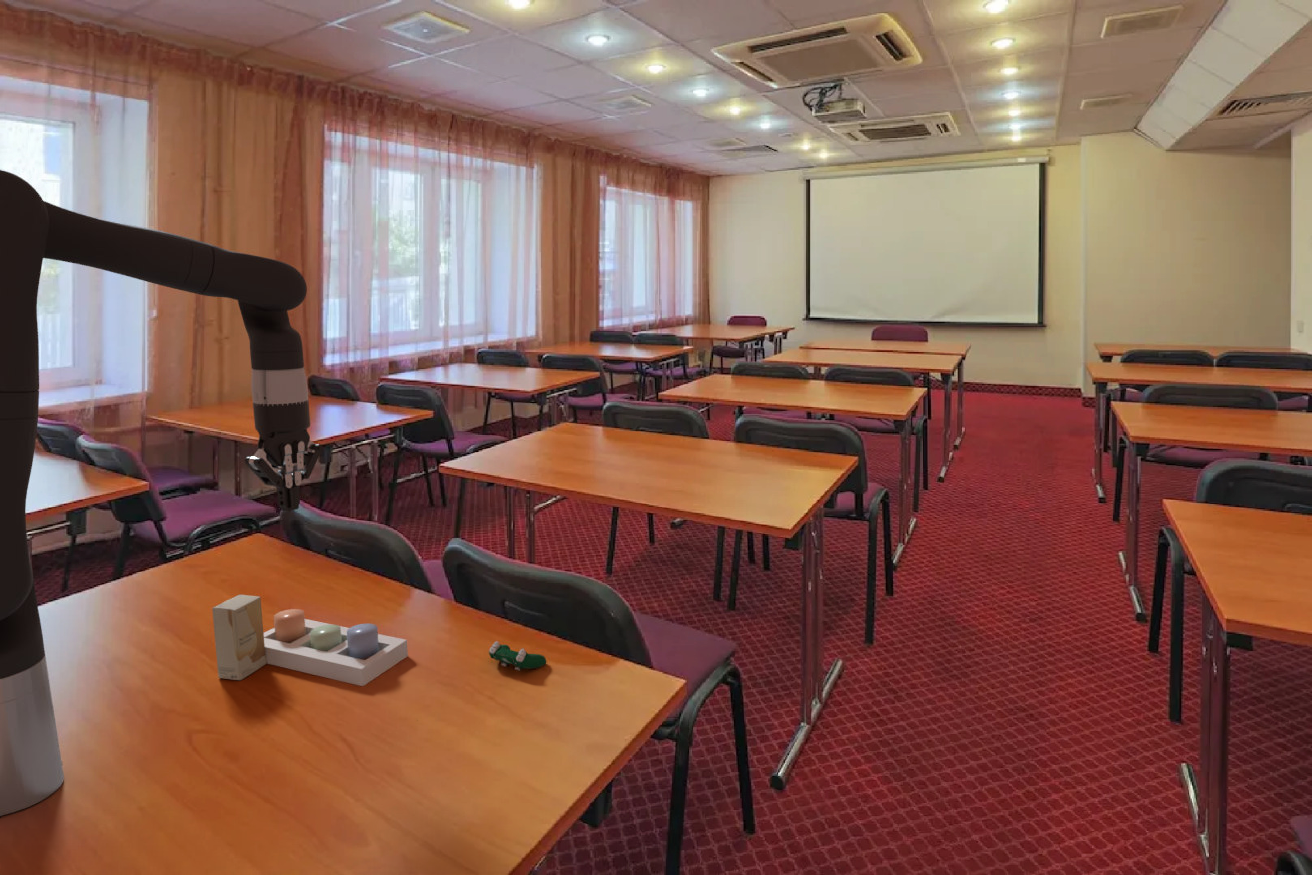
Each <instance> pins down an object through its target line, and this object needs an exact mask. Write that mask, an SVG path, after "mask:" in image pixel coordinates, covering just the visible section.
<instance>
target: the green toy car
mask: <svg viewBox="0 0 1312 875" xmlns="http://www.w3.org/2000/svg"><path fill="white" fill-rule="evenodd" d="M488 655H489V656H490V658H491V659H494V660H495V661H500V665H501V666H503V667H507V666H509V665H513V666H514V670H516V671H521V670H523V669H538V668H540V667H543V666H545V665H546V664H547V662H548V661H547V660H546V656H544V655H542V654H538V653H528V652H526V650H525V648H521V649H519V651H515V650H512V649H511V647H510V646H509V645H508V644H500V642H499V641H497V640H496V641H494V643H493V644H492V645H491V647H490V648H489V650H488Z"/></svg>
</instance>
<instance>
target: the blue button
mask: <svg viewBox="0 0 1312 875" xmlns="http://www.w3.org/2000/svg"><path fill="white" fill-rule="evenodd" d="M348 628H349V629H348V630H347V642H348V655H349V656H350V657H353V658H357V659H362V660H363V659H368V658H370V657H371V656H373V655H374V654H376V653H378V651H379V644H378V634H379V633H378V632H379V630H378V626H377V625H376V624H374V623H360V624H357V625H356V624H355V625H353V626H351V627H348Z"/></svg>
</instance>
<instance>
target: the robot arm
mask: <svg viewBox="0 0 1312 875" xmlns="http://www.w3.org/2000/svg"><path fill="white" fill-rule="evenodd" d="M44 259H49V260H54V261H60V262H66V263H71V264H76V265H82V266H85V267H89V268H94V269H99V270H103V271H105V272H106V271H107V272H111V273H114V274H118V275H121V276H126V277H129V278H133V279H136V280H140V281H143V282H147V283H151V284H154V285H158V286H163V287H167V288H170V289H175V290H179V291H182V292H187V293H191V294H195V295H199V296H204V297H205V296H206V297H213V298H226V299H231V300H235V301H237V304H238V307H239V311H240V314H241V318H242V320H243V321H242V322H243V325H244V328H245V330H246V333H247V336H248V340H249V354H250V366H251V367H250V368H251V381H250V384H251V386H250V387H251V388H250V389H251V399H252V410H253V422H254V428H255V431H256V432H257V433H258V436H259V437H258V442H257V450H256V451H255V452H254V454H253V455H252V456H246V458H245V460H244V463H245V465H246V466H247V467H248V468H249V469H250V470H251V471H252V472H253V473H254V475H256V476H257V478H259V480H260V481H261V482H262V483H263V484H264V485H265V486H271V487H276V488H275V489H276V491H277V503H278V506H279V508H280V510H281V511H283V512H293V511H295V510H299V508H300V505H301V496H300V494H301V493H300V485H301V484H302V482H303V481H304V480H309V478H310V476H311V474H312V472H313V471H314V467H315V465H316V463H317V461H318V460H319V457H320V455H321V453H322V451H323V445H322V444H318V443H315V442H314V441H312V440H311V436H310V434H309V432H308V429H309V428H310V426H311V415H310V405H309V404H310V401H309V390H308V388H309V387H308V380H307V376H306V372H305V359H304V350H303V349H304V348H303V342H302V338H301V337H302V336H301V335H300V333H299V332H298V331H297V330H296V329H295V328H293V326H291V324H290V323H291V322H290V318H289V313H288V312H289V311H291V310H294V309H296V308H298V307H299V306H300V305H301V304H303V302H304V301H305V299H306V297H307V291H308V288H307V287H308V286H307V282H306V279H305V277H304V276H303V275H302V273H301V272H300V271H299V270H298V269H297V268H296V267H294V266H292V265H291V264H290V263H287V262H283V261H281V260H280V261H279V260H276V259H273V258H269V257H263V256H259V255H254V254H249V253H243V252H238V251H232V250H229V249H225V248H222V247H220V246H217V245H214V244H211V243H207V242H204V241H200V240H197V239H193V238H190V237H186V236H184V235H178V234H175V233H171V232H167V231H162V230H159V229H158V230H157V229H155V228H154V229H153V228H148V227H143V226H138V225H133V224H129V223H124V222H123V223H122V222H117V221H111V220H108V219H102V218H99V217H95V216H92V215H87V214H83V213H79V212H77V211H73V210H70V209H67V208H65V207H64V208H63V207H61V206H58V205H56V204H53V203H51V202H48V201H45V200H44V199H43V198H42V196H41V195H40V193H39V192H38V191H37V189H36V188H35V187H34V186H32V185H31V184H30V183H29V182H28V181H26V180H25V179H23V178H22V177H21V176H19V175H16V174H15V173H12V172H10V171H8V170H7V171H6V170H3V169H0V817H2V816H4V815H8V814H12V813H16V812H18V811H19V812H20V811H21V810H24V809H27V808H29V807H32V806H33V805H35V804H37V803H39V802H42V801H43V800H45V799H47V798H48V797H49V796H50V795H52V794H55V792H56V791H57V790H58V789H59V788H60V787H61V786H62V784H63V782H64V780H65V775H64V768H63V765H64V764H63V760H62V755H61V748H60V741H59V734H58V730H57V729H58V728H57V723H56V717H55V710H54V709H55V708H54V704H53V697H52V691H51V690H52V689H51V685H50V677H49V671H48V663H47V657H46V650H45V644H44V643H45V642H44V636H43V629H42V624H41V616H40V612H39V605H38V600H37V593H36V587H35V586H36V584H35V580H34V579H35V578H34V573H33V572H34V571H33V566H32V560H31V557H30V554H29V547H28V546H29V545H28V544H29V543H28V537H27V534H28V533H27V523H26V521H27V520H26V518H27V516H26V514H27V513H26V512H27V511H26V509H27V508H26V506H27V496H28V489H29V483H30V478H31V474H32V468H33V463H34V456H35V450H36V441H37V433H38V426H39V425H38V424H39V423H38V422H39V407H40V406H39V402H40V365H39V364H40V352H39V351H40V350H39V349H40V346H39V329H38V310H37V308H38V295H39V294H38V293H39V286H40V280H41V275H42V274H41V272H42V267H43V261H44Z"/></svg>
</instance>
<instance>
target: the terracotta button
mask: <svg viewBox="0 0 1312 875" xmlns="http://www.w3.org/2000/svg"><path fill="white" fill-rule="evenodd" d="M305 617H306V616H305V611H304V610H303V609H300V608H299V609H298V608H290V609H285V610H281V611H279V612H277V613H275V614H274V615H273V625H274V627H273V628H275V638H276V640H277V641H281V642H286V643H292V642H294V641H296V640H298V639H300V638H301V637H303V636H305V635H306V629H305V619H306V618H305Z"/></svg>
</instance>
